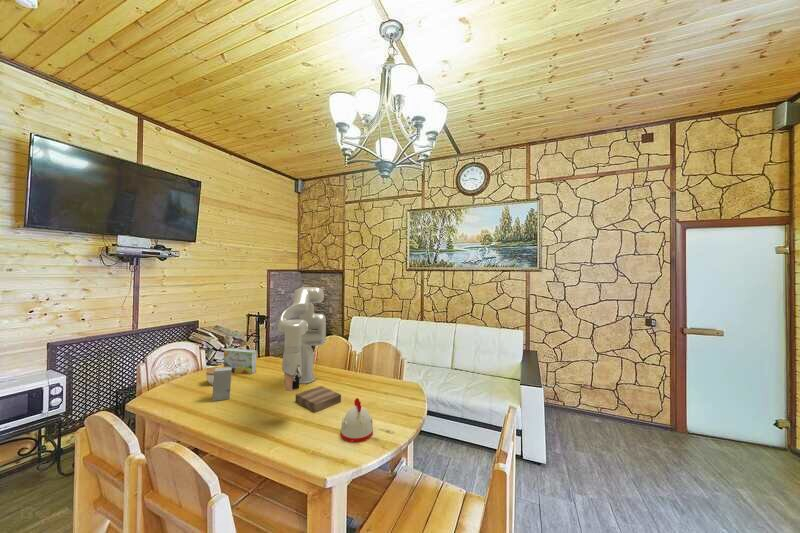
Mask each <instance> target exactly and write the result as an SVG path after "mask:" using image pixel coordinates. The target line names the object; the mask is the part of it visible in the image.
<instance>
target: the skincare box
mask: <svg viewBox="0 0 800 533" xmlns="http://www.w3.org/2000/svg"><path fill="white" fill-rule="evenodd" d="M214 368H215V370H214V380H213V385H212V394H211V395H212V398H211V401H212V402H217V401H219V402H220V401H225V400H230V399H231V398H230V397H231V386H232V384H231V383H232V372H231V371H232V367H224V366H223V367H218V368H216V367H214Z"/></svg>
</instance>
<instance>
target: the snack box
mask: <svg viewBox="0 0 800 533" xmlns="http://www.w3.org/2000/svg"><path fill="white" fill-rule="evenodd" d="M223 367H232V371H231V373H234V374H235V373H236V374H242V375H243V374H244V375H252V374H254V373H256V372H257V350H255V349H244V348H233V347H232V348H231V347H227V348H226V349H223Z"/></svg>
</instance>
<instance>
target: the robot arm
mask: <svg viewBox="0 0 800 533" xmlns="http://www.w3.org/2000/svg"><path fill="white" fill-rule="evenodd" d="M293 296H294V298H293V302H292V305H290V306H289V307H287V308H286V309H285V310H283V312H282V313H281V314H280V317H279V320H278V323H277V332H278V333H279V335H281V336H284V349H283V350H284V351H283V355H282V363H281V364H282V365H281V370H282V372H283V373H284V375H283V376H284V377H285V375H286V374H289V375H291V376H293V380H294V381H293V385H292V389H293V390H294V389H297V388H298V389H300V385H302V384H305V385H306V384H311V383H313V382H315V381H316V379H317V377H316V376H314V364H315V362H314V360H315V359H314V357H315V353H314V349H313V348H312V346H323V345H325V344H326V340H327V319H326V315H325V314H323V313H315V305H314V304H317V303H318V304H321V303H322V302H323V301H324V299H325V293H324V290H323V289H322V288H320V287H316V286H313V287H312V286H303V287H299V288H297V289H295V290H294V293H293ZM296 317H299V319H293V318H296ZM314 329H315V330H314ZM296 372H297V373H296ZM295 373H296V374H295ZM295 375H297V376H296V378H295Z"/></svg>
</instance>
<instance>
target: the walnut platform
mask: <svg viewBox="0 0 800 533" xmlns="http://www.w3.org/2000/svg"><path fill="white" fill-rule="evenodd" d="M341 402H342V394H341V393H339V392H336V391H334V390H331V389H329V388H326V387H325V386H322V385H319V386H316V387H312V388H309V389H307V390H304V391H301V392H298V393H296V394H295V403H297V404H298V405H301V406H303V407H304V408H306V409H308V410H310V411H312V412H314V413H317V412H320V411H323V410H325V409H327V408H330V407H332V406H334V405H337V404H339V403H341Z"/></svg>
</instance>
